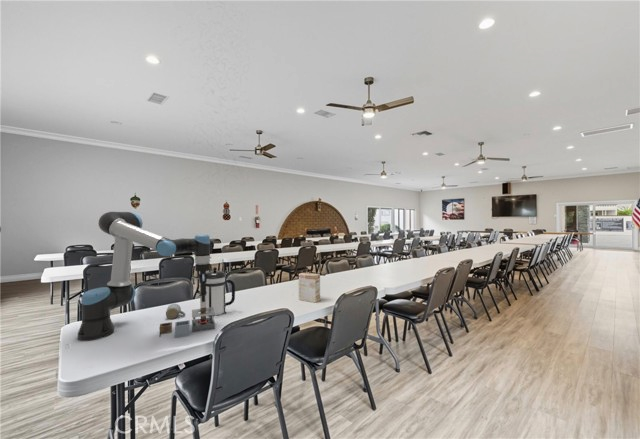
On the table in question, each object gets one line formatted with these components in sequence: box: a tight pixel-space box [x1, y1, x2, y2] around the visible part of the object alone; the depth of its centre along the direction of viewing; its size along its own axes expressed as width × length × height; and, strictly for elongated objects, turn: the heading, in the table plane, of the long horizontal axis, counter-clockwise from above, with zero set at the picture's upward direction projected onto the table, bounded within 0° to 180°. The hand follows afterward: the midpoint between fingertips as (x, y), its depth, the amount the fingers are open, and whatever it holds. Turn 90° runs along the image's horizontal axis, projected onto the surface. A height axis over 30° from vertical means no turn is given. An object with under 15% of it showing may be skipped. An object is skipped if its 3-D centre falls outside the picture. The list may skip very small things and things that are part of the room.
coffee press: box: [206, 266, 236, 318], centre depth 180 cm, size 17×16×30 cm
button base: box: [191, 307, 216, 333], centre depth 156 cm, size 11×11×10 cm
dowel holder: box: [159, 321, 173, 337], centre depth 150 cm, size 5×5×5 cm
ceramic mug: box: [165, 303, 186, 320], centre depth 176 cm, size 11×8×8 cm
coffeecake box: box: [298, 272, 321, 304], centre depth 211 cm, size 15×7×20 cm, turn 58°
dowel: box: [199, 283, 207, 321], centre depth 156 cm, size 3×3×20 cm
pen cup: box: [174, 320, 191, 338], centre depth 146 cm, size 7×7×7 cm
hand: (203, 306), depth 156 cm, fingers closed on dowel, 3 cm apart
